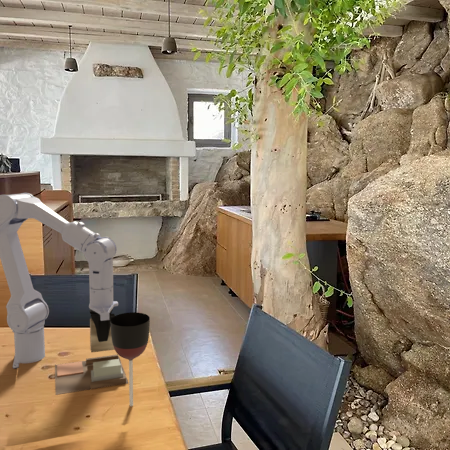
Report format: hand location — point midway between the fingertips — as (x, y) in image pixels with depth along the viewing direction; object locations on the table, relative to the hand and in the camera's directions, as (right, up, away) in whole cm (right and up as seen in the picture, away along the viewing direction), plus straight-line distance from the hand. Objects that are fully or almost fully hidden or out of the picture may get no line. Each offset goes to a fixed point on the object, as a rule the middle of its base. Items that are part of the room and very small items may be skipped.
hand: (102, 338), depth 114 cm
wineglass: (+11, -11, -18) cm, 24 cm away
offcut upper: (+3, -6, -7) cm, 10 cm away
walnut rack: (-2, -8, -4) cm, 10 cm away
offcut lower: (+3, -8, -7) cm, 11 cm away
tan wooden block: (0, -3, 0) cm, 3 cm away
